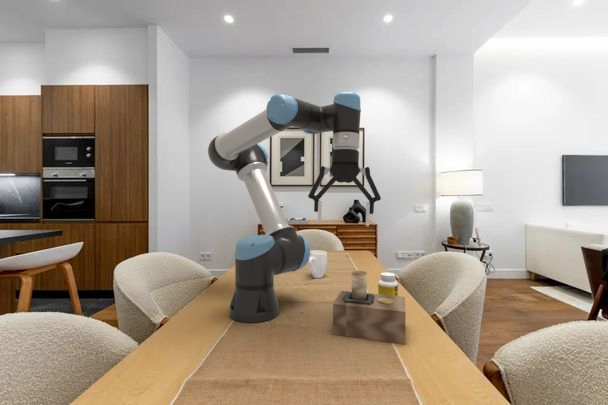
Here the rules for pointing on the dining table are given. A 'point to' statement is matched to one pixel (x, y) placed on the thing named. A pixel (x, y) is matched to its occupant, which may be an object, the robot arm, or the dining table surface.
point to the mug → (317, 263)
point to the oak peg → (359, 285)
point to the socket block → (370, 317)
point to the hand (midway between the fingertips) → (343, 224)
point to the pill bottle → (388, 284)
